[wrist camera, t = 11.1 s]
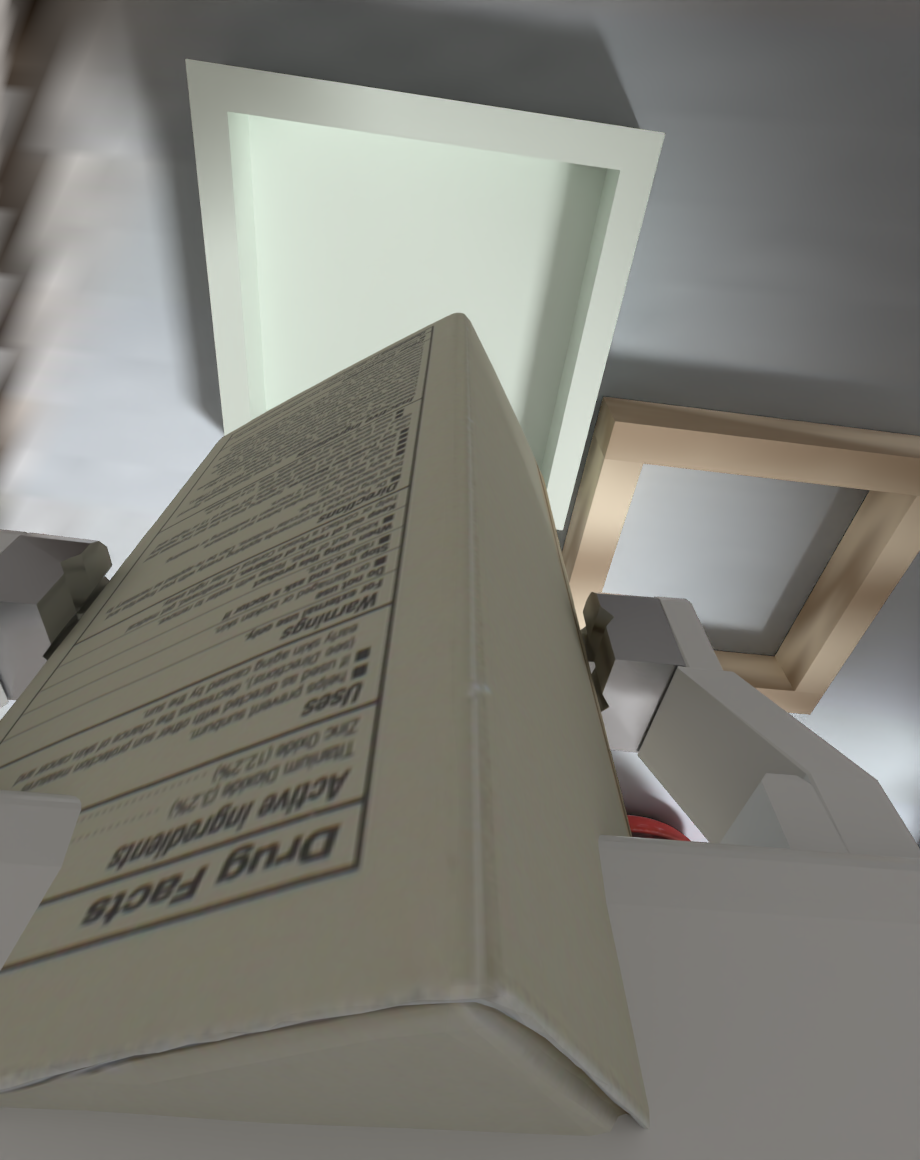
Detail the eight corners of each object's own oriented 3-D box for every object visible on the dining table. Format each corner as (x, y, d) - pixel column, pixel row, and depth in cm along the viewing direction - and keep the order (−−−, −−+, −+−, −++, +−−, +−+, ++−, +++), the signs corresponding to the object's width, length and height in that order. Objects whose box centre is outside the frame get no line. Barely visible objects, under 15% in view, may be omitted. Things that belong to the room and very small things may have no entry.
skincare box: (326, 575, 16) (112, 1286, 6) (211, 428, 14) (-408, 1195, 4) (556, 474, 14) (749, 1238, 5) (469, 287, 12) (484, 1031, 2)
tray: (554, 494, 28) (562, 530, 25) (251, 459, 27) (230, 493, 24) (641, 130, 20) (665, 132, 17) (220, 65, 19) (184, 58, 17)
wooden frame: (789, 679, 34) (810, 714, 32) (534, 654, 33) (539, 689, 31) (936, 438, 26) (976, 465, 24) (602, 396, 25) (615, 421, 23)
